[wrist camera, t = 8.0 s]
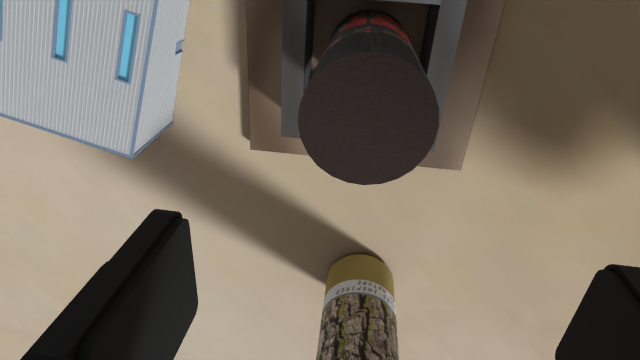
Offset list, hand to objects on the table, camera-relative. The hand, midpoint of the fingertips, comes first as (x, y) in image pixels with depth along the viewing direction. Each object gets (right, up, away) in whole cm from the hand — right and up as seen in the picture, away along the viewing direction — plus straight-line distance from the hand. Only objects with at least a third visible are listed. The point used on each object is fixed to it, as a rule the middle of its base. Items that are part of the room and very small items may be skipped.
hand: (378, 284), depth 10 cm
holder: (+2, +13, +22) cm, 25 cm away
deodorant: (+2, +12, +21) cm, 24 cm away
